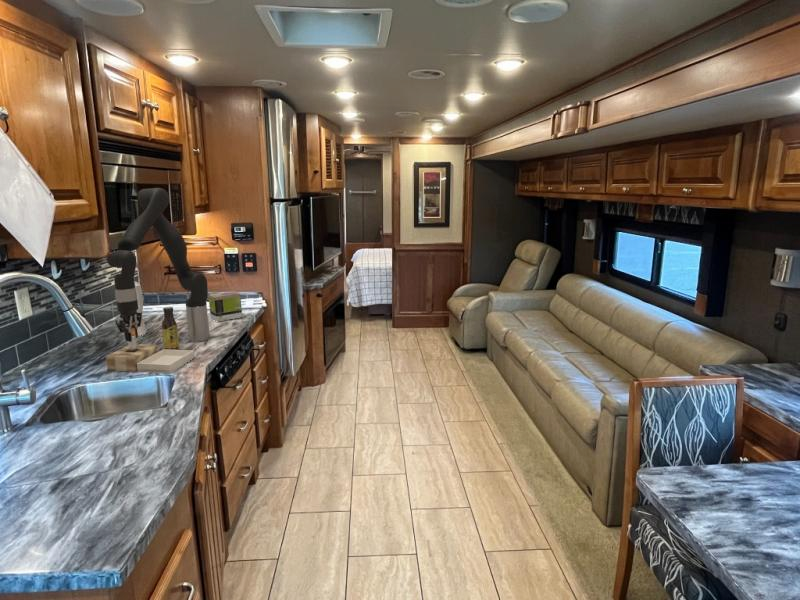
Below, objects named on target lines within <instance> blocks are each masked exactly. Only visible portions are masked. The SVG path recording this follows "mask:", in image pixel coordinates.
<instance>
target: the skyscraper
mask: <svg viewBox="0 0 800 600" xmlns="http://www.w3.org/2000/svg"><path fill="white" fill-rule="evenodd" d="M134 282H135V289H136V293H137V301H138V310H136V311H137V313H142V314H143V311H144V296H143V291H142V286H141V284H140V283H139V282H138V281H135V280H134ZM137 322H138V321H137ZM147 332H148V331H147V328H146V325H145V321H144V318H143V316H142V318H141V326H140V327H138V329H137V333H138V337H140V336H141V335H142V336H144V335H146V334H145V333H147ZM143 334H144V335H143ZM142 336H141V337H142Z"/></svg>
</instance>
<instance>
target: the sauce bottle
mask: <svg viewBox="0 0 800 600" xmlns="http://www.w3.org/2000/svg"><path fill="white" fill-rule="evenodd" d="M162 311H163V317H164V318H163V320H162V322H161V327H162V328H161V331H162V333H161V334H162V343H163V344H162V345H163V349H170V350H179V347H180V345H179V334H178V323H177V321H176V319H175V317H174V316H175V315H174V307H173V306H165V307H163V308H162Z"/></svg>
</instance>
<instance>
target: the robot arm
mask: <svg viewBox="0 0 800 600" xmlns="http://www.w3.org/2000/svg"><path fill="white" fill-rule="evenodd" d="M137 201H138V204H139V206H140V208H141V209H142V213H141V214H140V215H139V216H138V217H136V218H135V219H134V220H133V221H132V222H131V223H130V224H128V225H129V226H128V227H127V228H126V230H125V231H124V233H123V235H122V237H121V239H120V240H118V241H117V242H118V249H119V250H117V251H115V250H114V251H113V252H112V253H111V254H109V255H108V256H107V255H106V263H107V265H109V266H110V267H111V268H121V271H120V273H117V274H114V276H113V281H114V289H115V291H114V292H115V302H116V311H117V312H118V313H120V314H119V319H116V320H115V321H114V322H115V324H116V326H117V328H118V331H119V332H120V333H124V339H125V342H128V341H132V337H131V327H135V332H136V339H138V337H139V336H138V333H137V329H138V327H140V326H141V318H142V317H143V312H142V313H137V311H136V310H138V301H137V293H136V289H135V282H136V281H135V275H136V267H137V257H136V255H135V253H134V252H133V251H136V250H138V249H139V248H140V246H141V245H142V243H143V241H144V239H145V237H146V235H147V233H148V232H149V231H150V229H151V227H153V229H154V231H155V233H156V235H157V236H158V238H159V241H160V243H161V245H162V247H163V249H164V250H165V251H164V252H165V253H166V255H167V257H168V258H169V261H170V263H171V264H172V266H173V268H174V271H175V274H176V276H177V280H178V282H179V284H180V286H181V288H182V289H184V290H185V291H188V292H190V297H189V298H187V299H186V300H185V308H186V309H185V311H186V319H187V321H186V323H187V332H188V340H189V342H192V341H194V343H198V342H197V341H201V342H204V341H203V340H205V341H208V340H209V339H210V337H211V333H210V323H209V317H208V316H209V315H208V306H207V305H208V304H207V301H208V299H209V297H208V295H209V293H208V279H207V277H206V276H205V274H204V273H202V272H196V271H195V272H194V271H193V270H192V268H191V267H190V265H189V262H188V257H187V255H188V247H187V243H186V241H185V238H184V236H183V235H182V233H181V232H180V230H179V229H178V228H177V227H175V226H174V224H172V223H171V222H170V221H169V220H168V219H167V218H166V217H165V216H164V214H163V212H164V211H165V210H166V208H167V207H168V205H169V203H170V195H169V194H168V192H167V191H166V190H165V189H164V188H161V187H153V188H152V187H151V188H141V190H139V191H138V193H137ZM134 281H135V282H134ZM137 321H138V322H137ZM127 328H128V330H127ZM209 336H210V337H209ZM207 339H208V340H207Z"/></svg>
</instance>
